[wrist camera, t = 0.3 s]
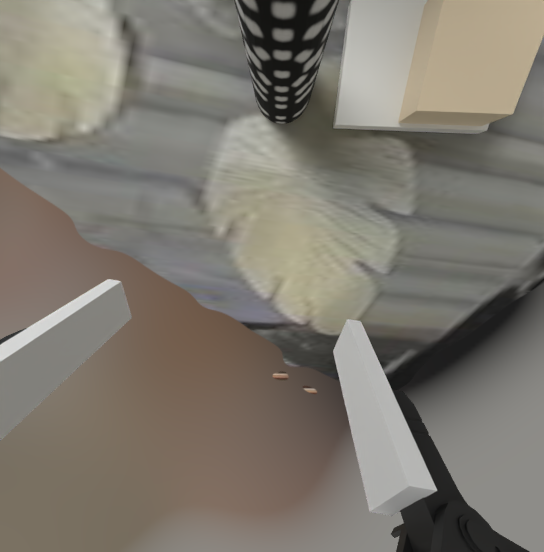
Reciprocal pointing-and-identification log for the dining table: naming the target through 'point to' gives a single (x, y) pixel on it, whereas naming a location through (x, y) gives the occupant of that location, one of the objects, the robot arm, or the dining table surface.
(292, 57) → the spotted tube
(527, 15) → the stand
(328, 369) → the dining table surface
